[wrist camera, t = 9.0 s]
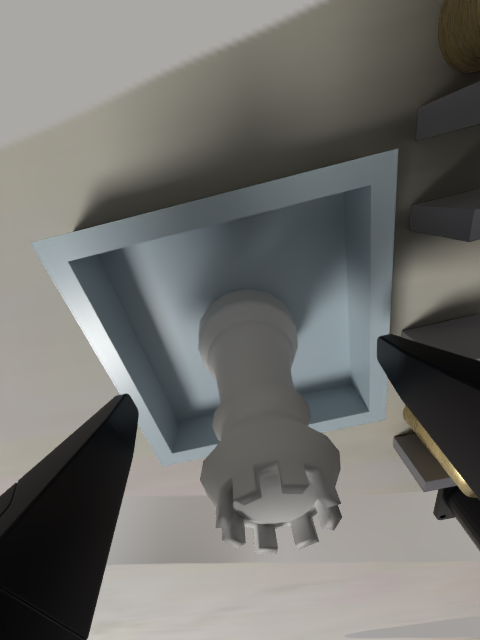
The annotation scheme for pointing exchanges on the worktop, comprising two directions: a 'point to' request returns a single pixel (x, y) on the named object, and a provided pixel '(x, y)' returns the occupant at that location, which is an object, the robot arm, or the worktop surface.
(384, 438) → the worktop surface
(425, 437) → the brass peg
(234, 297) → the rook chess piece
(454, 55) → the brass peg
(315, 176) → the tray
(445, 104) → the grey small pieces
